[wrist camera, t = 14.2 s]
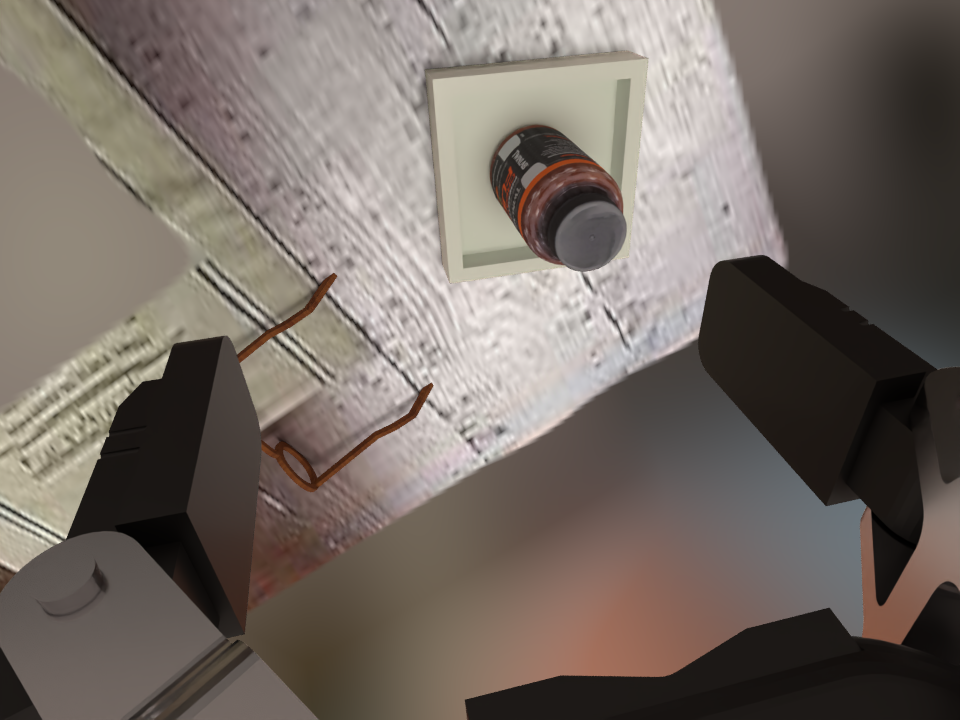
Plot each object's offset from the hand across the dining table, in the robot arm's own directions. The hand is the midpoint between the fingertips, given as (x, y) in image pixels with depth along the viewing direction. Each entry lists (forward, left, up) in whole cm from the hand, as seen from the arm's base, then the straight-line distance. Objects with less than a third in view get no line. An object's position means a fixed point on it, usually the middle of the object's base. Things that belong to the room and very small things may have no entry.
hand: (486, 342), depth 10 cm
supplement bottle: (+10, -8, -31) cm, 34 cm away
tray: (+10, -8, -32) cm, 34 cm away
